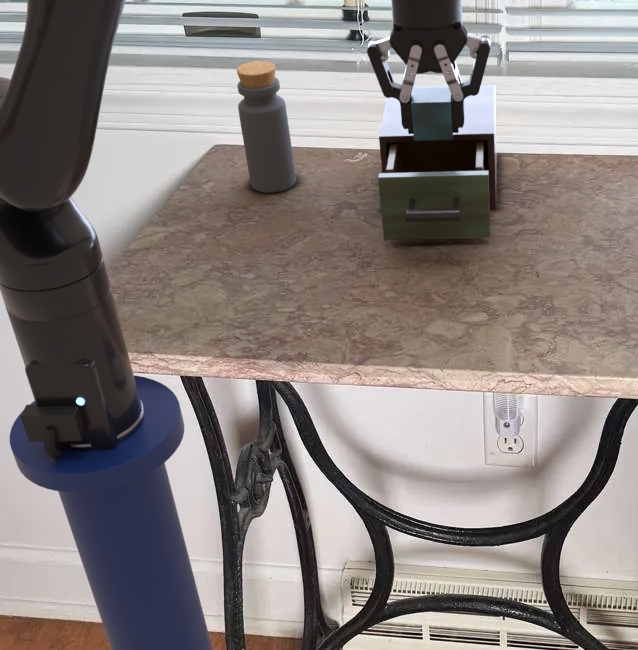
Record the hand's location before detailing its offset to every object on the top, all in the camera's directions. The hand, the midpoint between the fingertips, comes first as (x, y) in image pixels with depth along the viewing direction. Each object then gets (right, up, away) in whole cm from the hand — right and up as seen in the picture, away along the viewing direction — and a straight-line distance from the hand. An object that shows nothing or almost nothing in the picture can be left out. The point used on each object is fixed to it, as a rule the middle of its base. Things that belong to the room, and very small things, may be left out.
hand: (434, 130), depth 135 cm
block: (0, 0, 0) cm, 0 cm away
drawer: (0, -9, +6) cm, 11 cm away
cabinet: (+1, -2, +16) cm, 16 cm away
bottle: (-21, -2, +18) cm, 28 cm away
